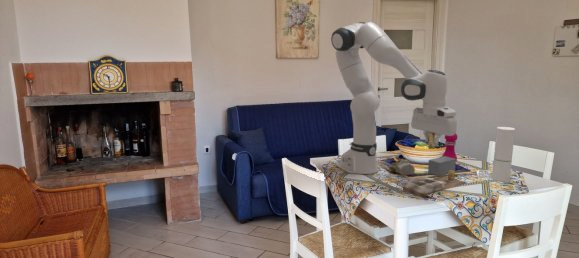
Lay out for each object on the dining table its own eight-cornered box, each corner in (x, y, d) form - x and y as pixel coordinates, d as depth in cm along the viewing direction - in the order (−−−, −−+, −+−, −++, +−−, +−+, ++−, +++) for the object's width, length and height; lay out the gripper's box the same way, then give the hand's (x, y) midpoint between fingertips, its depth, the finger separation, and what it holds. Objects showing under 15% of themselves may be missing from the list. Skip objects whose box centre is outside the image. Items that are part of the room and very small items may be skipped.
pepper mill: (457, 169, 204) (460, 130, 200) (442, 168, 205) (445, 130, 201) (454, 165, 211) (457, 127, 207) (440, 164, 212) (442, 127, 208)
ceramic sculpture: (399, 161, 188) (387, 154, 202) (398, 179, 189) (386, 171, 203) (421, 160, 189) (407, 154, 204) (420, 178, 190) (406, 171, 205)
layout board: (402, 190, 175) (403, 176, 174) (444, 178, 190) (445, 166, 188) (425, 198, 165) (426, 184, 164) (467, 186, 180) (468, 173, 178)
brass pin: (426, 147, 172) (427, 131, 170) (430, 146, 173) (431, 130, 172) (431, 148, 169) (432, 132, 168) (435, 147, 171) (436, 131, 169)
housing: (427, 176, 194) (428, 159, 192) (443, 171, 200) (445, 156, 199) (438, 179, 189) (439, 162, 187) (454, 175, 195) (455, 159, 194)
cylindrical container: (507, 180, 187) (513, 127, 182) (510, 185, 180) (516, 130, 175) (490, 179, 189) (495, 126, 184) (492, 183, 182) (498, 129, 177)
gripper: (408, 107, 175) (407, 138, 178) (449, 113, 158) (447, 148, 161) (418, 106, 178) (417, 137, 181) (460, 112, 161) (457, 146, 164)
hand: (431, 142), depth 171 cm, fingers closed on brass pin, 3 cm apart
